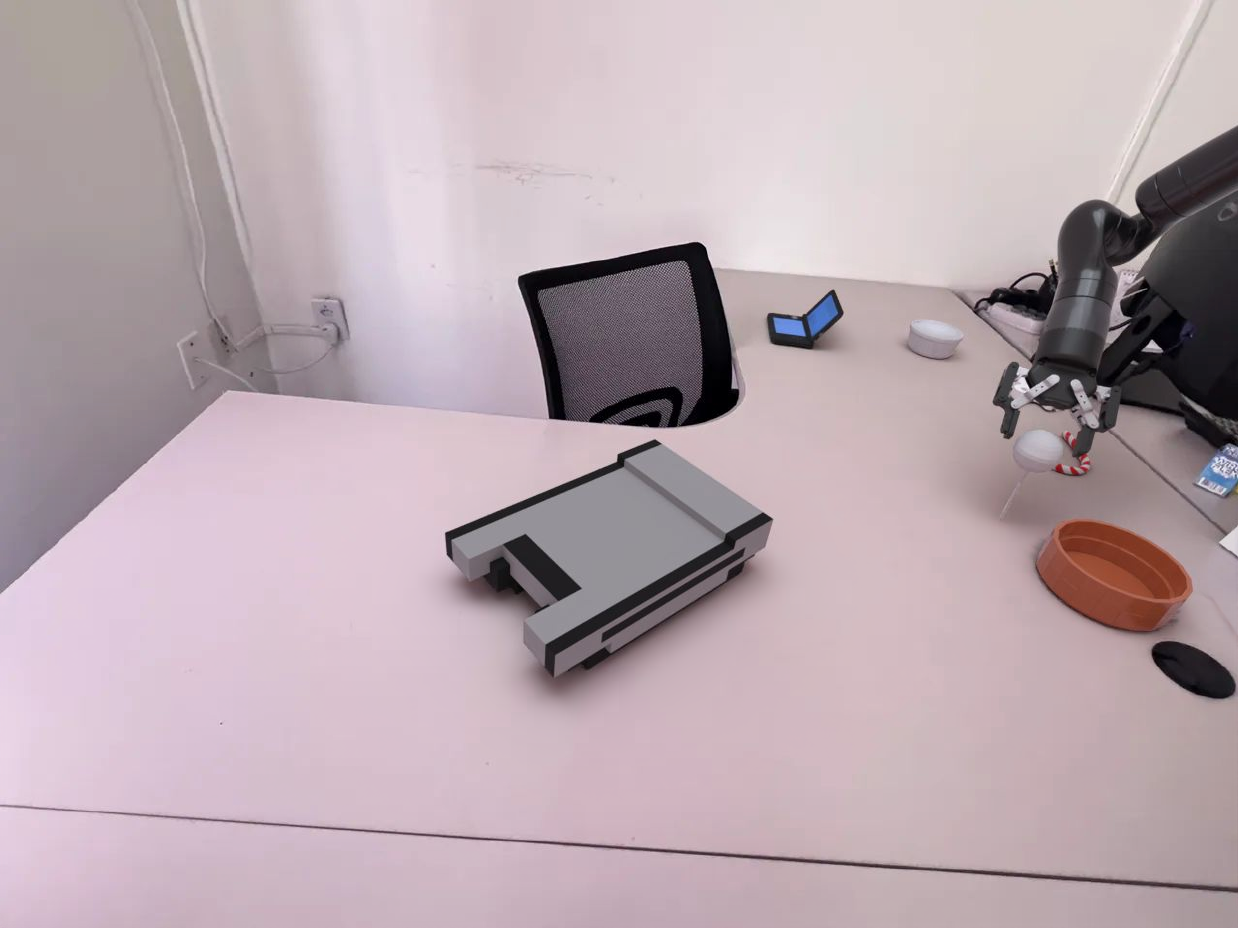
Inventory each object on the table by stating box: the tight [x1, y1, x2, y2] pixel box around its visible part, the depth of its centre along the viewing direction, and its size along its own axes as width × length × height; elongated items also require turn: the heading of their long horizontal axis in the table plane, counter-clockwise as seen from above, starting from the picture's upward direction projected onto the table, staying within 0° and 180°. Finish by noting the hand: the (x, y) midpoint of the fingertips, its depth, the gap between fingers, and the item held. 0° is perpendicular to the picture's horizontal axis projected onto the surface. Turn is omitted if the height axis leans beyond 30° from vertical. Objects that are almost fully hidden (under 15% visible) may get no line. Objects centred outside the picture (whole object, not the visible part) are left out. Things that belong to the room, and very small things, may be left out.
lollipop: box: [998, 429, 1064, 521], centre depth 91 cm, size 6×6×15 cm
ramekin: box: [907, 319, 965, 360], centre depth 145 cm, size 11×11×5 cm
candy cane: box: [1052, 430, 1091, 476], centre depth 113 cm, size 8×1×15 cm
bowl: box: [1035, 518, 1194, 632], centre depth 84 cm, size 15×15×6 cm
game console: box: [766, 289, 845, 349], centre depth 144 cm, size 16×14×9 cm
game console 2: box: [444, 438, 774, 679], centre depth 77 cm, size 21×32×8 cm, turn 131°
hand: (1042, 446), depth 88 cm, fingers open, 8 cm apart
